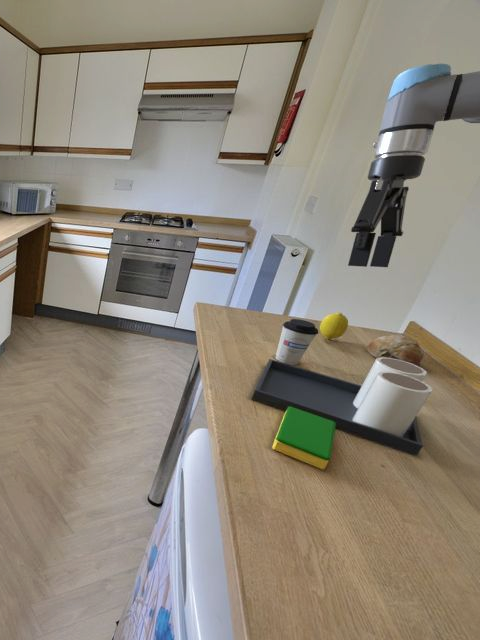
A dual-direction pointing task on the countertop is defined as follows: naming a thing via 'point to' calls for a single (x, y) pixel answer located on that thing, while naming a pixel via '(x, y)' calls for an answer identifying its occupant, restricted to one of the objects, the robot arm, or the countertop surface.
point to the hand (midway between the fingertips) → (368, 266)
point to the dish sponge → (305, 437)
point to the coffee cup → (295, 340)
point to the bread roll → (397, 348)
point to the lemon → (334, 326)
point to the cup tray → (326, 402)
